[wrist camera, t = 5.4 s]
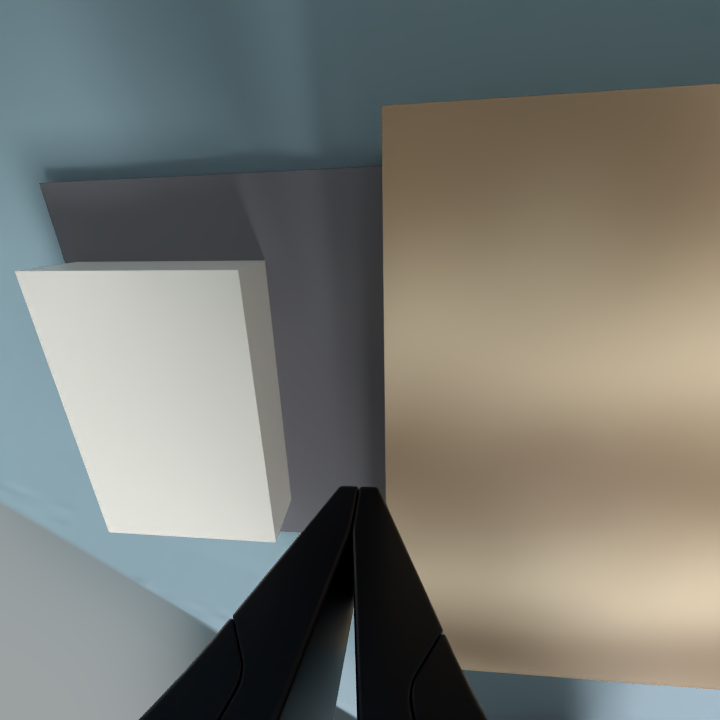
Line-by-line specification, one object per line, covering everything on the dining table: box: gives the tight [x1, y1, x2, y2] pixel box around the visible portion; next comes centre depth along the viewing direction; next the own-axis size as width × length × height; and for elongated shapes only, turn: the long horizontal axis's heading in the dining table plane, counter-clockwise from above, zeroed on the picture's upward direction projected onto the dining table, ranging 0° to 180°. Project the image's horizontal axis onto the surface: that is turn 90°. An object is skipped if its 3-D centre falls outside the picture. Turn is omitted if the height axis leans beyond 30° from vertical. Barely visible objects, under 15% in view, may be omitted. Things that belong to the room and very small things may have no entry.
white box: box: [15, 260, 291, 542], centre depth 12 cm, size 9×6×2 cm, turn 1°
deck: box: [382, 83, 720, 690], centre depth 10 cm, size 15×14×4 cm
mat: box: [40, 166, 386, 532], centre depth 13 cm, size 13×10×1 cm
